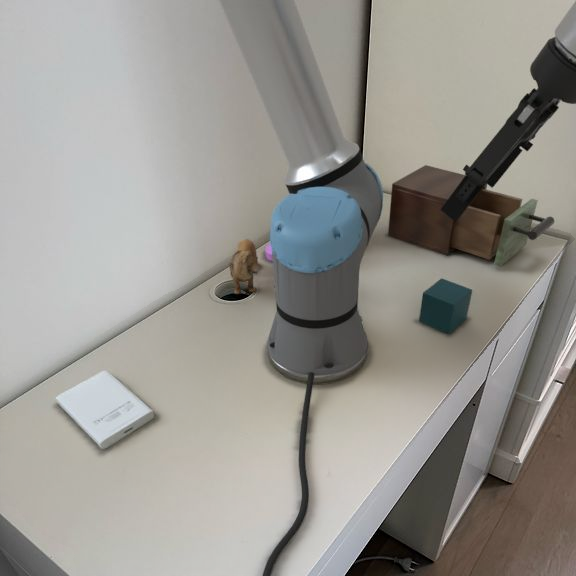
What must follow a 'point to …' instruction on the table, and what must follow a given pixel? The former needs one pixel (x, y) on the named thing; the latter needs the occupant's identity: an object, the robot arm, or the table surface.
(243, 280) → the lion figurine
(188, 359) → the table surface
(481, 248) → the drawer
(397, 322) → the table surface
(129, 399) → the hard drive
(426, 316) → the block
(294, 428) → the table surface
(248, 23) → the robot arm
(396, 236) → the cabinet
